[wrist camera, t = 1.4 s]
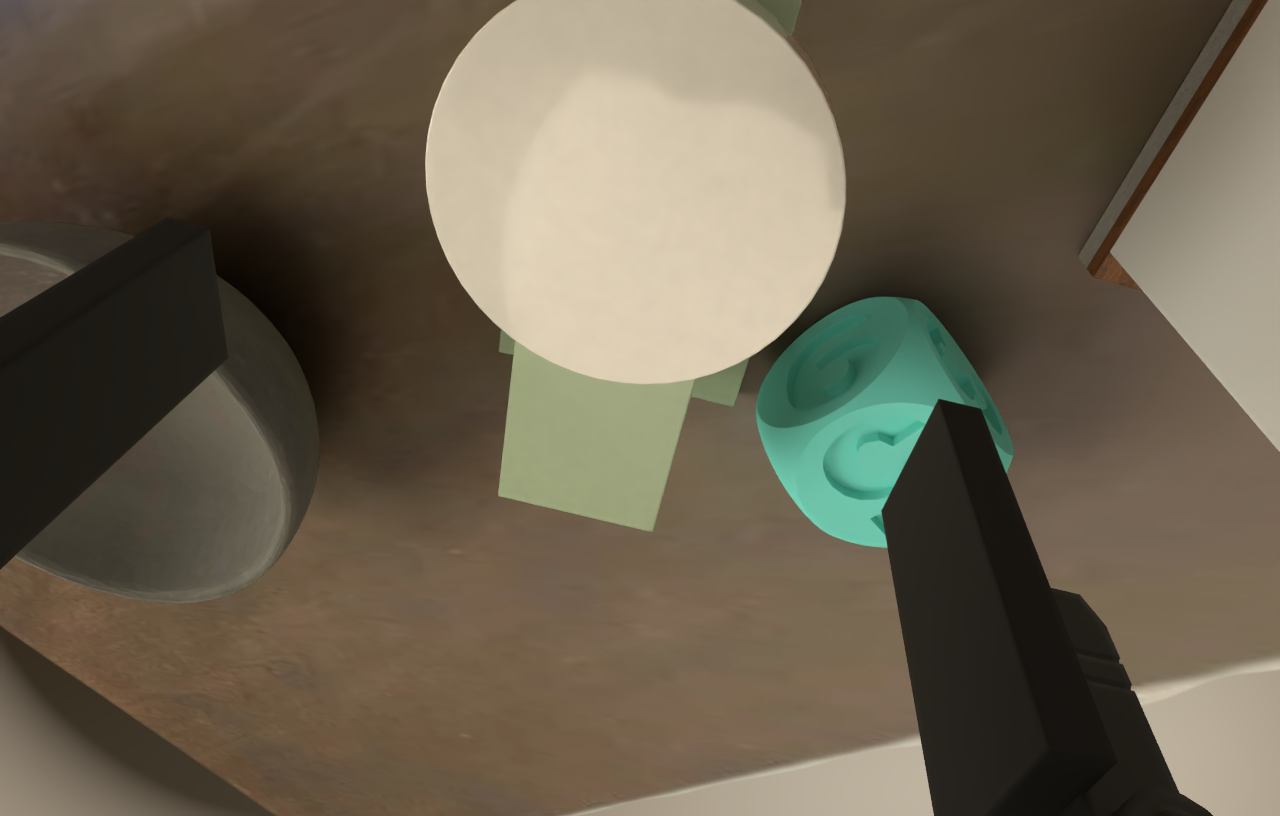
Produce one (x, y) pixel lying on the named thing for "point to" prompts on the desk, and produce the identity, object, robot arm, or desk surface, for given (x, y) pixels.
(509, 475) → the green bench arch
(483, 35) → the plate
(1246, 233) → the white square tower
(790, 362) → the decorative dice
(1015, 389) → the desk surface
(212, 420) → the bowl
